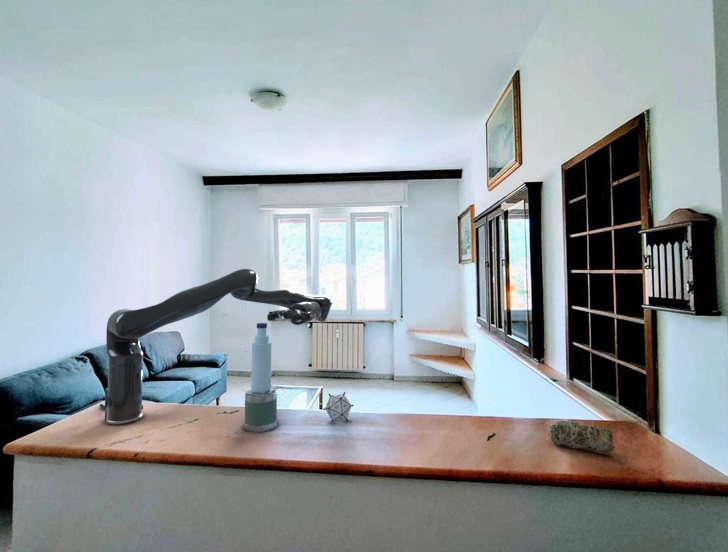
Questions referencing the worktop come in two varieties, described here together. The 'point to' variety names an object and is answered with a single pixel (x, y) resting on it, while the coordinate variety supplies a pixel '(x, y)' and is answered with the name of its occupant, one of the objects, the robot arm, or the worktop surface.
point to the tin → (260, 410)
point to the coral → (581, 436)
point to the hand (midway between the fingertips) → (280, 318)
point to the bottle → (261, 361)
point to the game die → (338, 407)
